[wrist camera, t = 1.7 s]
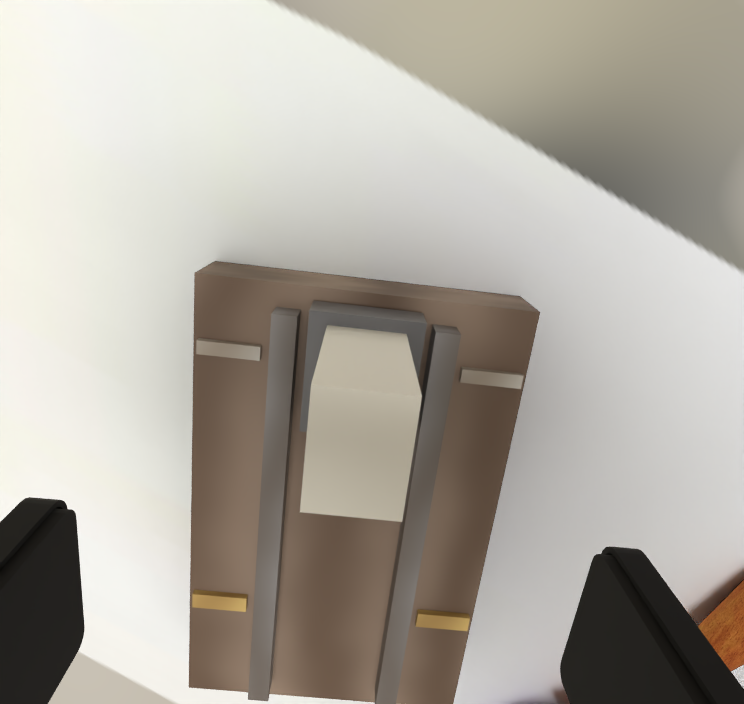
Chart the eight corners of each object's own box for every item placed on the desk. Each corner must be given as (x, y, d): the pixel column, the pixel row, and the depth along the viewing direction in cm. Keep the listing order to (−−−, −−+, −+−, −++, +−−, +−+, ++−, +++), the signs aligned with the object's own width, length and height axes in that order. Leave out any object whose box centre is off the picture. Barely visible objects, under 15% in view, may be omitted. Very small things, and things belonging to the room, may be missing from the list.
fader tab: (422, 312, 22) (450, 382, 14) (405, 424, 23) (422, 538, 16) (313, 300, 21) (286, 364, 14) (303, 414, 23) (274, 524, 16)
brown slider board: (520, 296, 25) (549, 319, 21) (444, 660, 32) (455, 730, 28) (215, 261, 24) (185, 278, 20) (205, 640, 31) (181, 708, 27)
